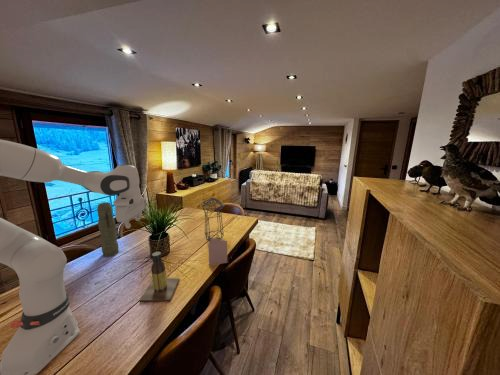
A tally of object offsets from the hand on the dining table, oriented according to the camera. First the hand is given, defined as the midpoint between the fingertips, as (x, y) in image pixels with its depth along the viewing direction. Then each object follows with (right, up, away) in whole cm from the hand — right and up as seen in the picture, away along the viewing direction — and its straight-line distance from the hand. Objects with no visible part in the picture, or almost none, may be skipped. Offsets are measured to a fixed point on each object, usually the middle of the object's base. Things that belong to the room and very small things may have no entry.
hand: (133, 223), depth 98 cm
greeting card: (+38, -30, +24) cm, 54 cm away
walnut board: (+14, -34, +1) cm, 37 cm away
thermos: (-34, -26, +32) cm, 54 cm away
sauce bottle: (+14, -33, 0) cm, 36 cm away
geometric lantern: (+30, -23, +53) cm, 66 cm away
